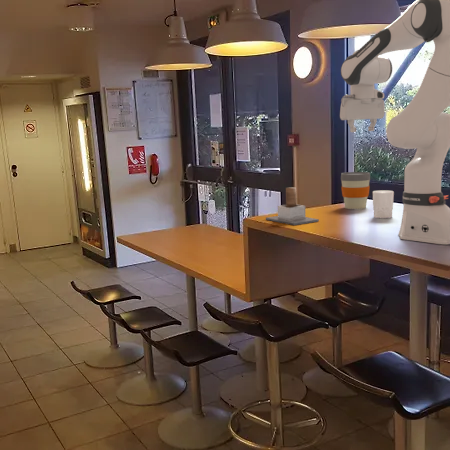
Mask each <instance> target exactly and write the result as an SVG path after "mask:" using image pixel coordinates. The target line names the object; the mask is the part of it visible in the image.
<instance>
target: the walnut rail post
mask: <svg viewBox="0 0 450 450" xmlns="http://www.w3.org/2000/svg"><path fill="white" fill-rule="evenodd" d="M285 205H286V207H297V205H298V204H297V187H296V186H295V187H292V186H291V187H285Z"/></svg>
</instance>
